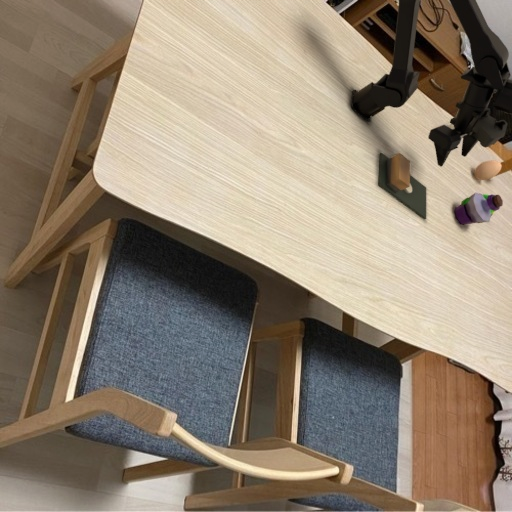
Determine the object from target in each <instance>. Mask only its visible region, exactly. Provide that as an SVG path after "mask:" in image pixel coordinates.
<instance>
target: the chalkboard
mask: <svg viewBox="0 0 512 512" xmlns="http://www.w3.org/2000/svg"><path fill="white" fill-rule="evenodd" d="M387 159H389V157H388V156H387V155H385V154H384V153H383V152H380V153H379V163H378V180H377V182H378V183H377V186H378V187H380V188H381V189H383V190H384V191H385V192H386V193H388V194H389V195H391V196H392V197H393V198H395V199H396V200H397V201H398V202H400V203H401V204H403V205H404V206H405V207H407V208H408V209H409V210H411V211H412V212H414V213H415V214H416V215H418V216H419V217H420V218H421V219H423V220H426V219H427V187H426V186H425V185H424V184H422V182H420V181H419V180H418V179H416V178H415V177H414V176H412V174H410V184H411V186H412V192H411V193H407V192H406V191H405V190H401V191H399V192H397V193H396V192H394V191H393V190H392V189H390V188H389V187H388V186H386V170H387Z"/></svg>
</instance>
